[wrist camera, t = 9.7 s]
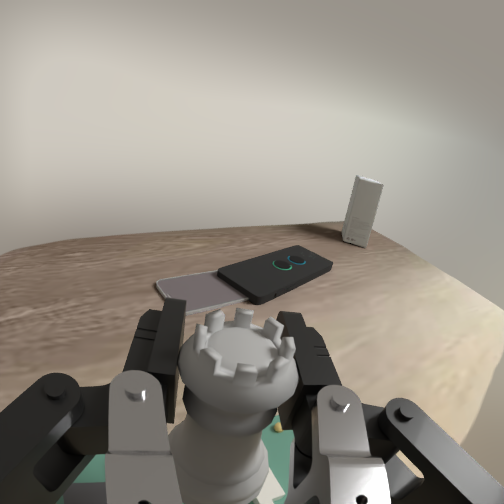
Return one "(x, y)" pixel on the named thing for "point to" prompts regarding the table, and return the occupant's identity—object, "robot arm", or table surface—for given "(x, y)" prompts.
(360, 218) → the skincare box
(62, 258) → the table surface
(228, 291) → the smartphone
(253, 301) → the smart home device
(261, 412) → the rook chess piece
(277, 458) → the header board
